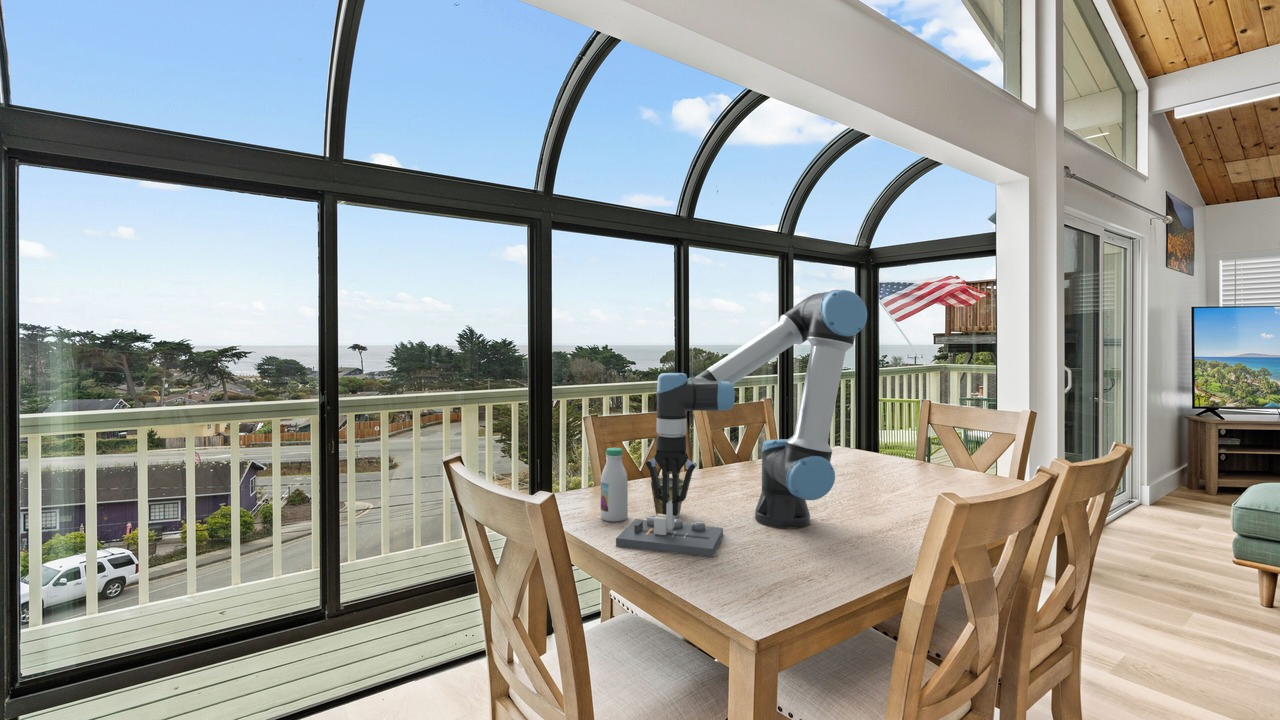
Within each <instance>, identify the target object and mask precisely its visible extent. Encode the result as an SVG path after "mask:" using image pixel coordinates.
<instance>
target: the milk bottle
mask: <svg viewBox="0 0 1280 720" xmlns="http://www.w3.org/2000/svg"><path fill="white" fill-rule="evenodd" d="M605 453H606V462H605V465H604V467H603V469H602V472H601V476H600V477H601V478H600V519H602V520H603V521H605V522H617V523H618V522H622V521H623V522H624V521H625V520H627V518H628V511H629V510H628V504H629V503H628V502H629V501H628V500H629V498H628V497H629V496H628V494H629V492H628V490H629V488H628V487H629V485H628V483H629V482H628V474H627V470H626V469H625V466H624V464H623V460H622V457H623V448H622V447H608V448H606V450H605Z"/></svg>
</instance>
